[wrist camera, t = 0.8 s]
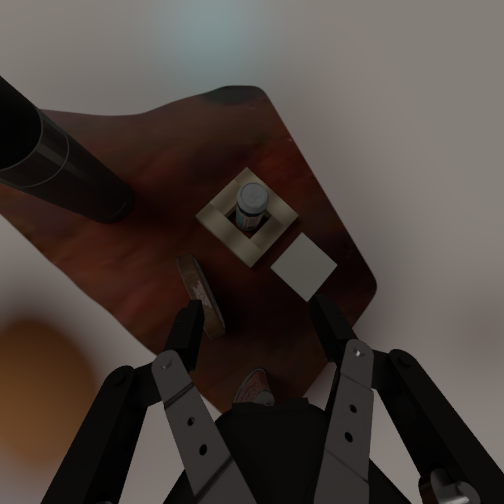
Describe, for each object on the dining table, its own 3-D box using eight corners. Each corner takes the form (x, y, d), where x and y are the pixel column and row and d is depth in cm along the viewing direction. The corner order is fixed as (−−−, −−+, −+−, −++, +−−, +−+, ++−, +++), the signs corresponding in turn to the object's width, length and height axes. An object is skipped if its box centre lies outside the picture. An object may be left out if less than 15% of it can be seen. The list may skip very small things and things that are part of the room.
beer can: (263, 217, 38) (276, 190, 26) (251, 236, 37) (259, 217, 25) (243, 205, 38) (248, 172, 26) (231, 223, 37) (230, 198, 25)
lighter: (244, 413, 33) (249, 473, 23) (229, 402, 33) (227, 457, 23) (269, 373, 34) (284, 413, 24) (255, 362, 34) (264, 398, 24)
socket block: (198, 220, 36) (195, 215, 33) (245, 175, 39) (246, 167, 36) (249, 268, 36) (250, 267, 33) (293, 220, 38) (298, 215, 36)
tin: (182, 260, 35) (167, 255, 27) (198, 253, 36) (187, 246, 27) (214, 332, 34) (208, 351, 26) (229, 324, 35) (228, 340, 26)
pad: (270, 267, 37) (270, 267, 36) (301, 232, 38) (302, 232, 38) (306, 301, 37) (307, 301, 36) (336, 265, 38) (337, 265, 38)
